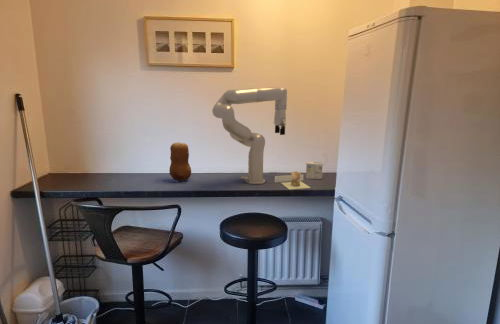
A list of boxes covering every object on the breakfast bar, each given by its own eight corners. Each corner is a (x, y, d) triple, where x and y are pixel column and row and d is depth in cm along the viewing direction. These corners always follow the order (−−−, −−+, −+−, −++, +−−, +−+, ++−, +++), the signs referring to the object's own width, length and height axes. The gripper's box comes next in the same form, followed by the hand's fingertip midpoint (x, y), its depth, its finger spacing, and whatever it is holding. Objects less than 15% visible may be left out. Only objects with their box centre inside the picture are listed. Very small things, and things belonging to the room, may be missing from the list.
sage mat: (289, 189, 186) (289, 189, 186) (280, 183, 199) (280, 182, 199) (310, 188, 189) (310, 187, 189) (301, 182, 203) (301, 181, 203)
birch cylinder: (293, 186, 191) (293, 174, 189) (289, 184, 196) (290, 171, 194) (301, 186, 192) (302, 173, 190) (297, 183, 197) (298, 171, 196)
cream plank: (274, 182, 201) (275, 176, 200) (274, 182, 202) (274, 176, 201) (303, 180, 206) (303, 174, 206) (302, 180, 207) (303, 174, 206)
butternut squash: (190, 177, 211) (189, 140, 206) (192, 182, 198) (191, 143, 193) (169, 178, 208) (168, 141, 202) (169, 183, 195) (168, 144, 190)
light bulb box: (320, 176, 216) (321, 161, 214) (322, 179, 210) (323, 163, 207) (305, 176, 217) (306, 161, 215) (306, 178, 211) (306, 163, 208)
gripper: (270, 107, 209) (270, 132, 213) (279, 108, 193) (278, 135, 197) (281, 107, 211) (280, 132, 215) (291, 108, 195) (290, 135, 198)
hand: (279, 133), depth 206 cm, fingers open, 9 cm apart
